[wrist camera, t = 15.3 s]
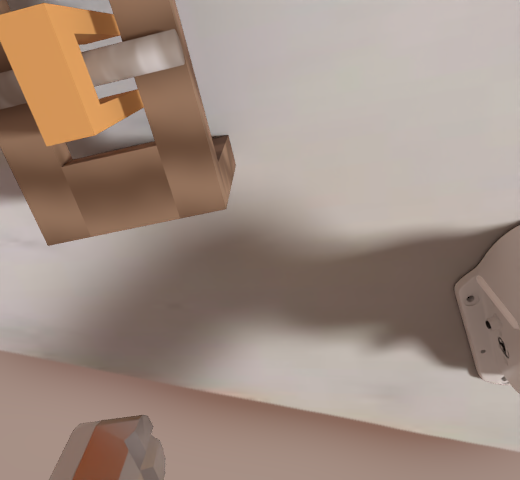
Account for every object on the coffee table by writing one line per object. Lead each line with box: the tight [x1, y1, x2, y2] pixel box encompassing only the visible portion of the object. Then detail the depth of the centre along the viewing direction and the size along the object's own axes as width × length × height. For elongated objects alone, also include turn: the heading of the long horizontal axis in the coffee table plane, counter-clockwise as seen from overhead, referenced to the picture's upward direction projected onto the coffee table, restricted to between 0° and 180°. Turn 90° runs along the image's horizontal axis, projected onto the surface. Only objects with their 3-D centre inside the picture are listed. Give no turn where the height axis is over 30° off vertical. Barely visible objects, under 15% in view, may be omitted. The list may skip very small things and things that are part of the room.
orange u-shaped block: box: [0, 3, 144, 146], centre depth 28 cm, size 7×3×11 cm, turn 13°
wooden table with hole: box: [0, 0, 236, 246], centre depth 31 cm, size 22×14×14 cm, turn 13°
